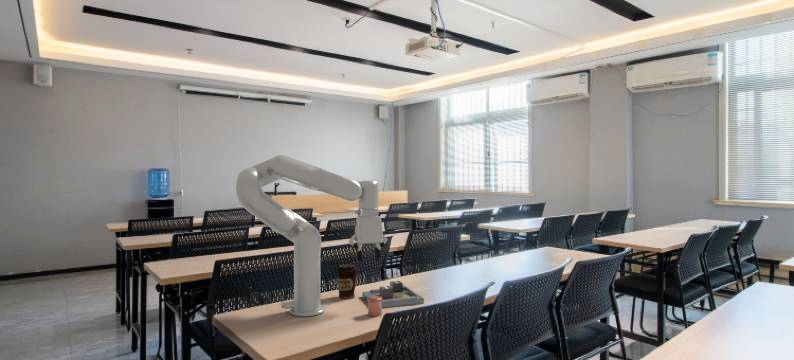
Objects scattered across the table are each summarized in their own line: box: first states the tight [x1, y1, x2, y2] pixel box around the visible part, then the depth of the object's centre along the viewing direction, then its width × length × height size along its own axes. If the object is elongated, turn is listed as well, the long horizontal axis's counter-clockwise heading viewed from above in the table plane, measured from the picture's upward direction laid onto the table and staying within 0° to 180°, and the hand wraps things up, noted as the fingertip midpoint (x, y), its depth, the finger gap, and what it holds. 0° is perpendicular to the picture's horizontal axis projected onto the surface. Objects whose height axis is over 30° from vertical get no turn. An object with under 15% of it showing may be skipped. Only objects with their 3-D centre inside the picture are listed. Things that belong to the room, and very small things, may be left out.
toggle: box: [378, 285, 393, 300], centre depth 173 cm, size 4×4×4 cm
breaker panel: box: [361, 280, 425, 309], centre depth 178 cm, size 20×17×6 cm
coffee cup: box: [336, 264, 358, 300], centre depth 182 cm, size 9×8×13 cm
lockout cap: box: [367, 296, 382, 318], centre depth 160 cm, size 5×5×6 cm
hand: (368, 259), depth 170 cm, fingers open, 5 cm apart
